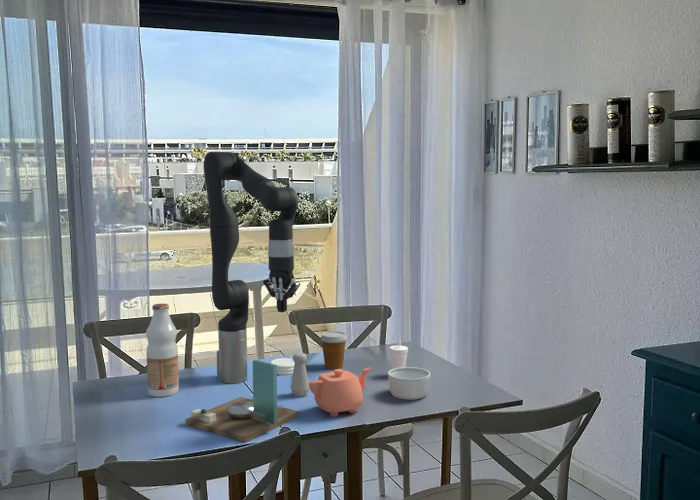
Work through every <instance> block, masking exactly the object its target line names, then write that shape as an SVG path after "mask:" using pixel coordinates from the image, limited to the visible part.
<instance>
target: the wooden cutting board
mask: <svg viewBox="0 0 700 500" xmlns="http://www.w3.org/2000/svg"><path fill="white" fill-rule="evenodd" d="M241 401H249V402H253V399H250V398H247V397H243V396H240V397H238V398H234V399H232V400H229V401H227V402H225V403H222V404H220V405H217V406H215V407H212V408H209V409H208V410H207V409H206V408H202V409H200V408H196V409H194V410H191V412H190V413H191V416H190V417H187V418H185V423H184V424H185V426H187V427H192V428H195V429H199V430H202V431H207V432H210V433H211V434H216V435H219V436H222V437H223V436H224V437H226V438H229V439H233V440H237V441H240V442H243V443H247V442H250V441H251V439H252V440H253V438H254V439H256V438H258V437H259V436H261V435H264V434H266V433H268V432H269V431H271V430H273V429H275V428H278V427H279V426H282V425H284V424H286V423H288V422H290V421H292V420H294V419H297V417H298V418H299V416H300V415H299V414H300V413H299V410H295V409H291V408H288V407H284V406H281V405H277V424H275V425H273V424H270V423H267V422H264V421H261V420H258V419H255V418H252V417H249V418H233V417H230V416H229V415H228V406H229V405H230V404H232V403H235V402H241ZM255 437H256V438H255Z"/></svg>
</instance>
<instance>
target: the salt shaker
mask: <svg viewBox="0 0 700 500" xmlns="http://www.w3.org/2000/svg"><path fill="white" fill-rule="evenodd" d="M292 359H293V361H294V362H295V364H294V370H293V374H292V377H291V383H290V391H291V392H292V395H293V396H295V397H297V398H298V397H299V398H301V397H305V396H307V394H308V392H309V390H310V388H309V383H310V382H309V378H308V373H307V368H306V367H307V366H306V362H307V360H308V356H307V354H306V353H304V352H296V353H294V354H293V356H292Z"/></svg>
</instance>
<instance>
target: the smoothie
mask: <svg viewBox="0 0 700 500" xmlns="http://www.w3.org/2000/svg"><path fill="white" fill-rule="evenodd" d="M388 351H389V352H390V358H391V360H390V361H391V368H392V369H395V368H400V367H406V365H407V363H406V362H407V358H408V352H409V347H408V346H406V345H402V343H401V334H398V344H397V345H391V346H390V347H389V350H388ZM392 369H391V370H392Z"/></svg>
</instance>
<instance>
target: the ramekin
mask: <svg viewBox="0 0 700 500" xmlns="http://www.w3.org/2000/svg"><path fill="white" fill-rule="evenodd" d="M387 378H388V385H389V386H388V387H389V391H390V394H391V395H392V396H393V397H395V398H397V399H400V400H406V401H407V400H409V401H411V400H413V401H414V400H419V399H423V398H424V397H426V396H427V394H428V392H429V387H430V379H431V372H430V371H429V370H427V369H425V368H421V367H416V366H414V367H413V366H405V367H400V368H395V369H390V370H389V371H388V372H387Z"/></svg>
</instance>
